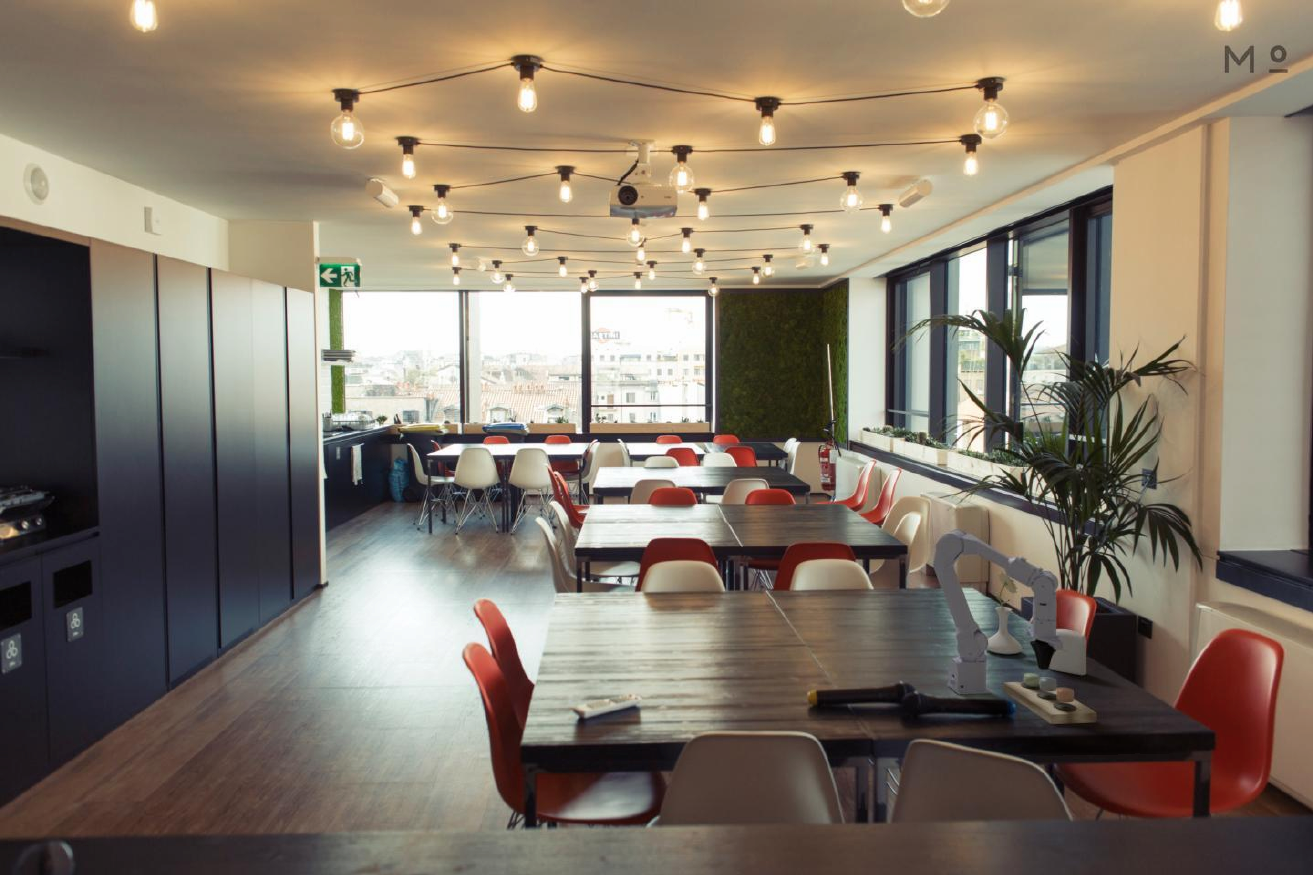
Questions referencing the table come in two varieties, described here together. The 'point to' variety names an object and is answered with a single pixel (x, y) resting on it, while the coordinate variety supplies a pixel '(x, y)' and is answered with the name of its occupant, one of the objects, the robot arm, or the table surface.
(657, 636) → the table surface
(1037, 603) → the robot arm
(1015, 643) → the flower in vase
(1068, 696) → the button terracotta
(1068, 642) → the photo printer
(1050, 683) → the button slate
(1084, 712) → the button panel
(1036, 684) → the button sage
